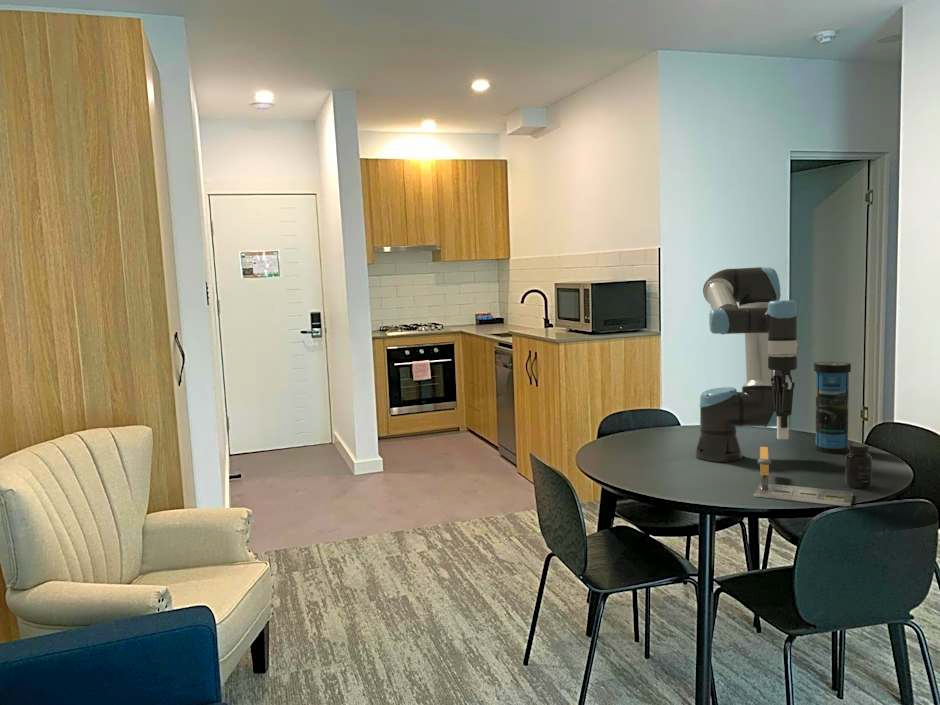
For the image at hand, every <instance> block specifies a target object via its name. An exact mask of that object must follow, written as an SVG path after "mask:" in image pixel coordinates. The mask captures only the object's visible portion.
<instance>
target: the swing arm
mask: <svg viewBox="0 0 940 705" xmlns="http://www.w3.org/2000/svg"><path fill="white" fill-rule="evenodd" d="M757 464H758V465H759V471H760V472H759V473H760V474H759V475H760V476H761V475H768V476H770V474H769V473H770V465H771V464H772V460H771V459H769V448H768V446H759V458H758V459H757Z"/></svg>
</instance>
